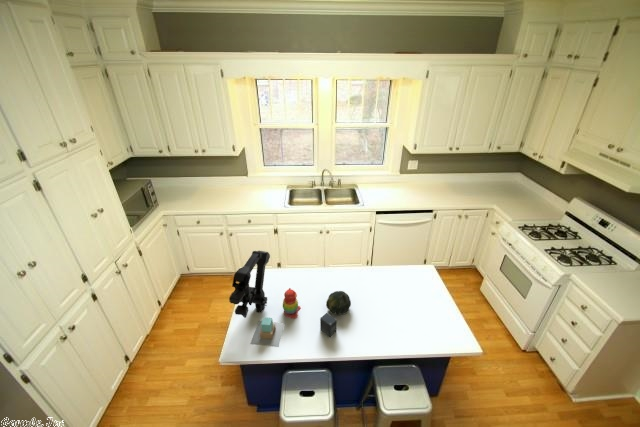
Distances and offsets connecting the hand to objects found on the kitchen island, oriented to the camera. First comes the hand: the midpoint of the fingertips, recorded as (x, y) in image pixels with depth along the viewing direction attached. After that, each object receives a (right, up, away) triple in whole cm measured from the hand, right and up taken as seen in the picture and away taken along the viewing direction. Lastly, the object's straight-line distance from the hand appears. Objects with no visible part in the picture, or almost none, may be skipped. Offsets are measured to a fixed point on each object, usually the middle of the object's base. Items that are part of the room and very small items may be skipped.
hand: (247, 311), depth 167 cm
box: (+46, -13, +4) cm, 48 cm away
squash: (+53, -5, +18) cm, 56 cm away
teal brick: (+11, -10, -1) cm, 15 cm away
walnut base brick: (+11, -13, +1) cm, 17 cm away
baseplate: (+11, -14, +2) cm, 18 cm away
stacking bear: (+23, -6, +16) cm, 29 cm away
